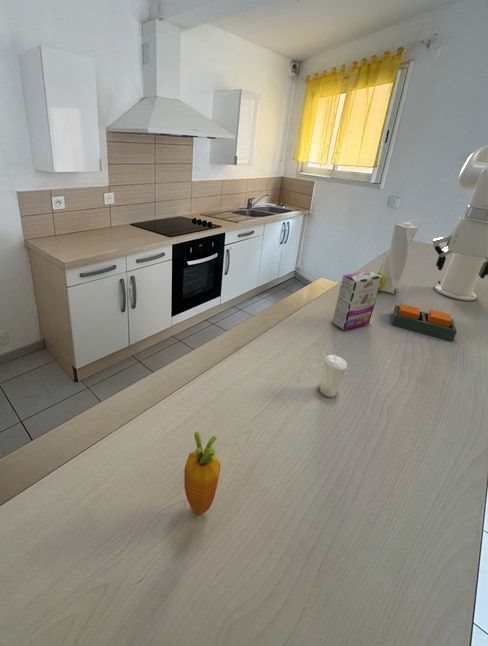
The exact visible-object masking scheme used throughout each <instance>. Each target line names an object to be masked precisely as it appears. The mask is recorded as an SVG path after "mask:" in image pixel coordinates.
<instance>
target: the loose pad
mask: <svg viewBox="0 0 488 646" xmlns="http://www.w3.org/2000/svg"><path fill="white" fill-rule="evenodd" d="M427 313H428V316H427V318H426V322H427V323H431V324H435V325H439V326H443V327H447V328H449V327H450V325H451V322H452V321H451V319H452V318H451V314H450V313H446V312H441V311H438V310H433V309H429V310H428V312H427Z"/></svg>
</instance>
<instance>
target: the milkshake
mask: <svg viewBox="0 0 488 646" xmlns="http://www.w3.org/2000/svg"><path fill="white" fill-rule="evenodd" d="M337 353H338V347H337V346H335V347H334V352H333V354H329V355H327V356H325V357H324V359H323V365H322V374H321V380H320V384H319V385H320V386H319V391H320V393H321V394H322V395H323V396H325V397H327V398H333V397H334V396H336V394H337V392H338V389H339V387H340V385H341V382H342V379H343V377H344V375H345V373H346V371H347V368H348V363H347V361H346V360H345V359H344V358H342V357H340V356H338V355H337Z"/></svg>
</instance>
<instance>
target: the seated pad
mask: <svg viewBox="0 0 488 646" xmlns="http://www.w3.org/2000/svg"><path fill="white" fill-rule="evenodd" d="M398 306H399V309H398V314H399V315H400V316H404V317H408V318H412V319H416V320H418V318H419V316H420V313H419V311H420V308H419V307H415V306H411V305H407V304H403V303H400V304H399V305H398Z"/></svg>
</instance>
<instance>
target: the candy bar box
mask: <svg viewBox="0 0 488 646" xmlns="http://www.w3.org/2000/svg"><path fill="white" fill-rule="evenodd" d="M377 273H378V272H374V271H373V270H364V271H360V272H359V271H358V272H353V273H349V274H343V275H342V279H341V284H340V287H339V291H338V292H339V293H338V295H337V296H338V297H337V300H336V305H335V309H334V313H333V318H332V324H333V325H334V326H336V327H337V328H339V329H340V330H342V331H349V330H352V329H355V328H358V327H362V326H365V325H369V324H370V322H371V319H372V315H373V312H374V307H375V304H376V302H377V297H378V294H379V292H380V291H379V287H380V284H381V280H382V277H383V276H381V275H379V274H377Z"/></svg>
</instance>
